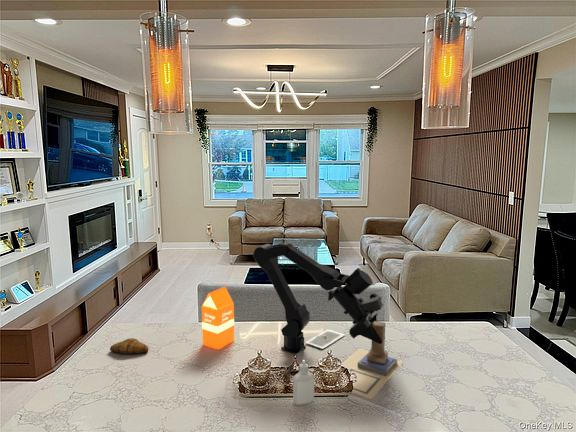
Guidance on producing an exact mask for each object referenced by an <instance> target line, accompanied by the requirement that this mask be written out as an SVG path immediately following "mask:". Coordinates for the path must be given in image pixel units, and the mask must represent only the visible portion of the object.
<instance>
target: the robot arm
mask: <svg viewBox="0 0 576 432" xmlns="http://www.w3.org/2000/svg"><path fill="white" fill-rule="evenodd" d="M252 257H253V259H254V261H255V262H256V264H257V265H258V266H259V267H260V268H261V269H262V270H263V271H264V272H265V273H266V274H267V276H268V278H269V281H270V282H271V285H272V286H273V288H274V289H275V292H276V293H277V296H278V298H279V300H280V301H281V304H282V305H283V308H284V313H285V314H284V315H285V317H284V318H285V321H286V325H284V326H283V327H282V328H281V330H280V331H281V334H282V336H283V346H281V350H282V351H285V352H288V353H291V354H295V355H297V354H298V353H300V352H301V351H302V350H305V349H306V348H307V347H306V345H305V336H304V332H303V331H302V330H304V329H305V327H306V326H308V324H309V323H310V320H311V316H310V314H311V313H310V312H309V311H308V309H307V306H306V304H305V303H303V304H300V303H299V302H298V301H297V299H296V297H295V296H294V294H293V292H292V290H291V288H290V286H289V284H288V281H287V279H286V278H285V276H284V274H283V272H282V269H281V268H280V265H279V257H285V258H286V259H288V260H289V261H290V262H292V263H293V264H295V265H296V266H298V267H299V268H301V269H302V270H303V271H305V272H307V273H308V274H309V275H310V276H311V277H312V278H313V279H314V281H315V283H316V284H318V285H319V286H320V287H321V288H322V289H323V290H325V291H328V292H327V293H328V297H327V298H328V299H327V301H332V299H333V298H334V299H335V301H336V302H337V303H338V304H339V305H340V306H341V307H342V309H343V310H344V311H343V314H345V315H347V314H348V316H350V318H351V319H352V322H351V323H352V324H353V325H351V327H350V328H349V335H350V336H351V338H353V339H355V338H357V337H359V336H361V337H364V338H366V339H369V341H371V342H372V341H374V342H377V343H379V344H381V343H382V340H381V338H380V337H379V335H378V334H377V332H376V331H375V329H374V328H373V323H374V321H378V316H379V313H375V312H378V311H380V310H381V309H382V307H383V306H384V304H383V302H382V297H381V296H380V295H378V294H377V293H376V292H373V293H371V294H370V295H369V298H367V299H365V300H364V299H363V298H361V297H359V298H358V297H357V296H358V295H361V294H362V293H363V292H365V291H366V290H367V289H368V288H369V287H371V286H372V285H374V283H373V280H372V278H371V276H370V275H369V274H368V273H366V272H365V271H364V270H361V268H359V267H357V268H356V269H355V270H354V271H353V272H351V274H350V275H348V274H344V273H340V272H339V271H338V270H336V269H334V268H332V267H330V266H328V265H324V264H321V263H319V262H317V261H316V260H315V259H313V258H312V257H310V256H308V255H307V254H305V252H303V251H301V250H300V249H298V248H297V247H295V246H294V245H293V244H292V243H290V241H289V242H288V241H287V242H284V243H278V244H270V243H265V244H263V245H261V246H258V247H256V248H255V249H254V251H253V255H252ZM356 295H357V296H356ZM374 313H375V314H374Z"/></svg>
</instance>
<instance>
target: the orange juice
mask: <svg viewBox="0 0 576 432" xmlns="http://www.w3.org/2000/svg"><path fill="white" fill-rule="evenodd" d="M201 329H202V331H201V332H202V345H203V346H206V347H209V348H213V349H215V350H221V349H222V348H224V347H225V346H227V345H229V344H231V343H232V342H234V341H235V303H234V301H233V299H232V297H231V295H230V293H229V291H228V290H227V288H226V286H222V287H221V288H218V289H216V290H213V291H211V292H208V294H207V296H206V297H205V300H204V301H203V303H202V305H201Z"/></svg>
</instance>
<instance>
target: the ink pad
mask: <svg viewBox="0 0 576 432" xmlns="http://www.w3.org/2000/svg"><path fill="white" fill-rule="evenodd" d="M367 355H368V354H367ZM367 355H365V356H364V357H363V358H362V359H361V360H360V361H359V362H358V367H359V368H362V369H365V370H368V371H371V372H374V373H377V374H380V375H383V376H387V375H388V374H389V373H390V371H391V370H392V369H393V368H394V367H395V366H396V365H397V360H398V359H397V358H395V357H391V356H388V357H387V360H386V363H385V365H383V364H378V363H373V362H368V361H367Z"/></svg>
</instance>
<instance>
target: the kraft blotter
mask: <svg viewBox="0 0 576 432" xmlns="http://www.w3.org/2000/svg"><path fill="white" fill-rule="evenodd" d="M369 351H370V350H367V349H363V348H358V349H357V350H356V351H354V352H353V353H352V354H351V355H350V356H349V357H348V358H346V359H345V360H344V361H342V363H341V364H343V366H344V367H346V368H348V369H349V371H350V372H351V373H355V374H356V376H357V382H355V383H354V389H353V392H351V393H353V394H355V395H358V396H361V397H364V398H366V399H368V400H373V398H374V397H375V396H376V395H377V394H378V392H380V390H381V389H382V388H383V386H385V384H387V382H388V381H389V379H390V378H391V377H392V376H393V375H394V374H395V372H396V371H397V370H398V368H400V366H401V365H402V364H403V363H404V360H401V359H397V365H396V366H395V367H394V368H393V369H392V370H391V371H390V373H389V374H388V375H387V376H383V375H380V374H377V373H374V372H371V371H368V370H365V369H362V368H359V367H358V362H359V361H360V360H361V359H362V358H363V357H364V356H365V355H367V354H368V353H369Z"/></svg>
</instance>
